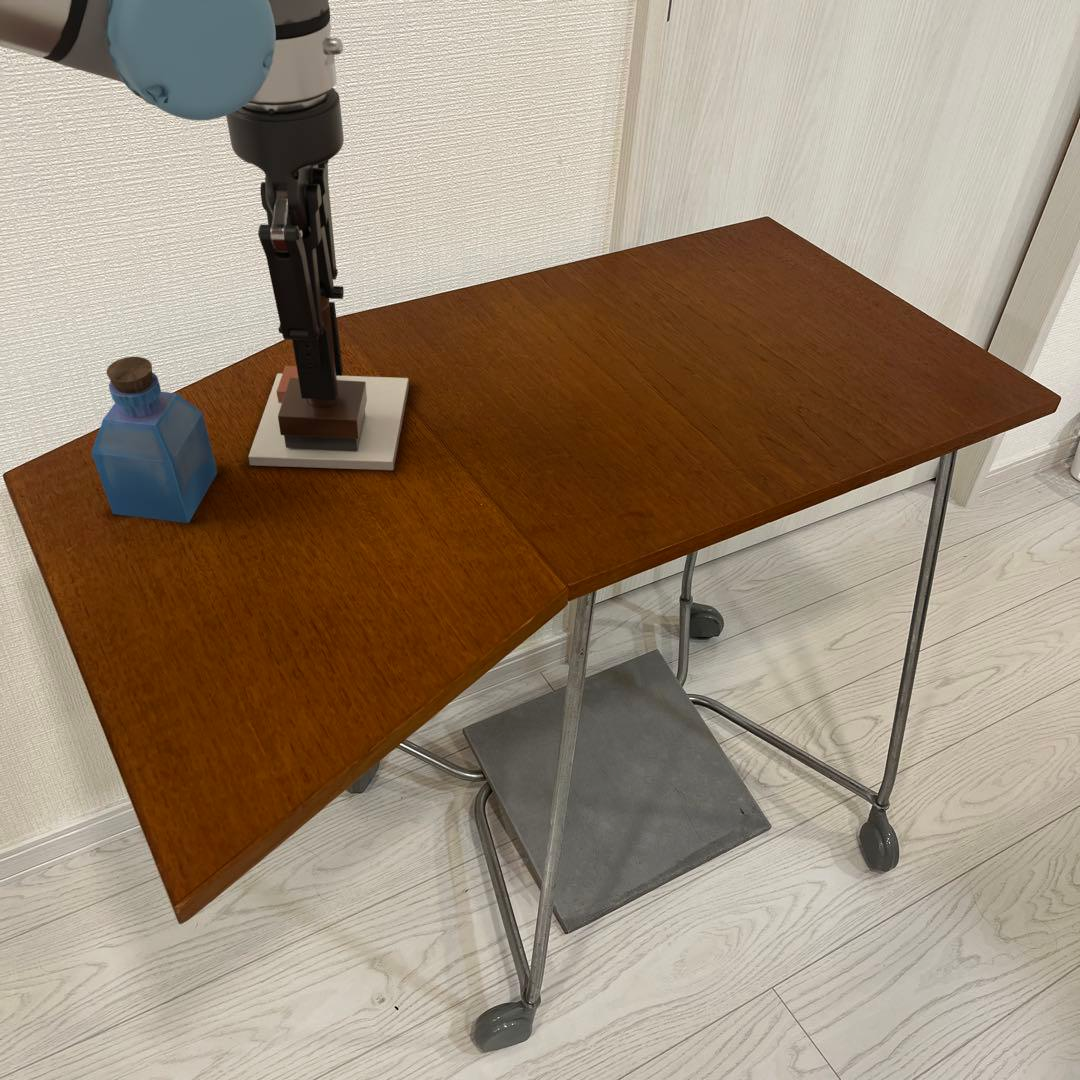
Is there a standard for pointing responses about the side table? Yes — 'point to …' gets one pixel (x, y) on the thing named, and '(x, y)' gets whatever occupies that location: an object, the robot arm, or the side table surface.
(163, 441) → the perfume bottle
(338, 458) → the tile
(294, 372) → the reddish-brown flat block
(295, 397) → the stamp
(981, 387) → the side table surface
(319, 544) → the side table surface
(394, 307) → the side table surface
